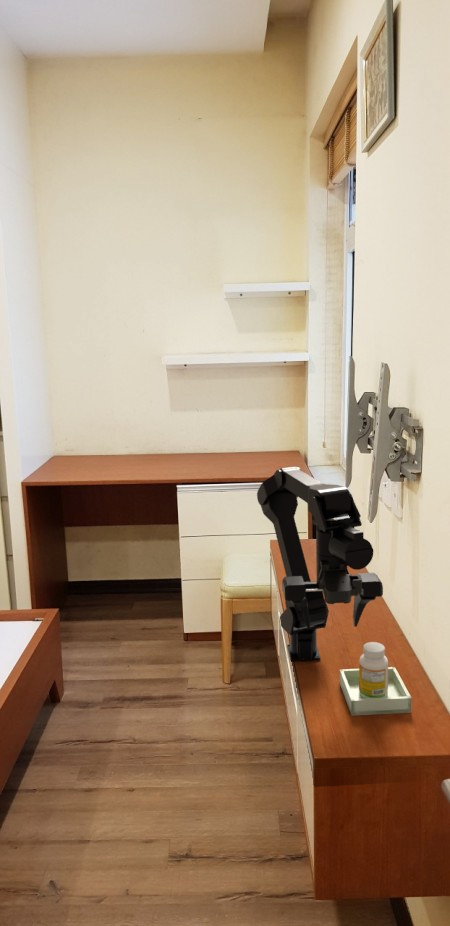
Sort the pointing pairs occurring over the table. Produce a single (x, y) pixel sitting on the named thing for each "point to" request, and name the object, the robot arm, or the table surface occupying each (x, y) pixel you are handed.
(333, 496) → the robot arm
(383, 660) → the supplement bottle
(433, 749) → the table surface
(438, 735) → the table surface
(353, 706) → the tray
